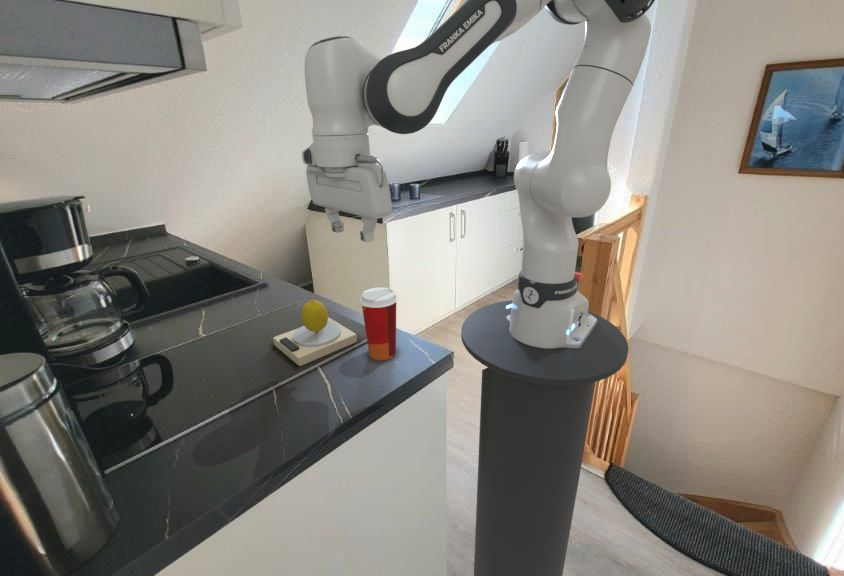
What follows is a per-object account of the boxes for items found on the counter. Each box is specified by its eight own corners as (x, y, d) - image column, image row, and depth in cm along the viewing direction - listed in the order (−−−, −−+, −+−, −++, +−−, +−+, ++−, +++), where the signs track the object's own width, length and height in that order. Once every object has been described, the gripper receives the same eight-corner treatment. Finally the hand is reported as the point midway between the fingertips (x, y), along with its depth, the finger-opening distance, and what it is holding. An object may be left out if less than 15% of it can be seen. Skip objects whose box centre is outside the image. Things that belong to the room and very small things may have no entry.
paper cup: (389, 340, 91) (386, 283, 86) (407, 355, 86) (404, 295, 80) (357, 351, 87) (352, 292, 82) (374, 367, 82) (369, 305, 76)
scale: (329, 324, 99) (328, 314, 98) (357, 341, 91) (356, 331, 90) (274, 345, 90) (272, 335, 89) (299, 366, 82) (297, 355, 81)
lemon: (334, 328, 92) (330, 296, 89) (321, 340, 87) (316, 306, 84) (313, 325, 93) (308, 293, 90) (299, 336, 88) (293, 303, 85)
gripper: (398, 154, 61) (403, 243, 66) (328, 150, 74) (337, 224, 80) (363, 158, 57) (372, 252, 62) (296, 153, 71) (308, 230, 76)
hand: (352, 236), depth 71 cm, fingers open, 8 cm apart
